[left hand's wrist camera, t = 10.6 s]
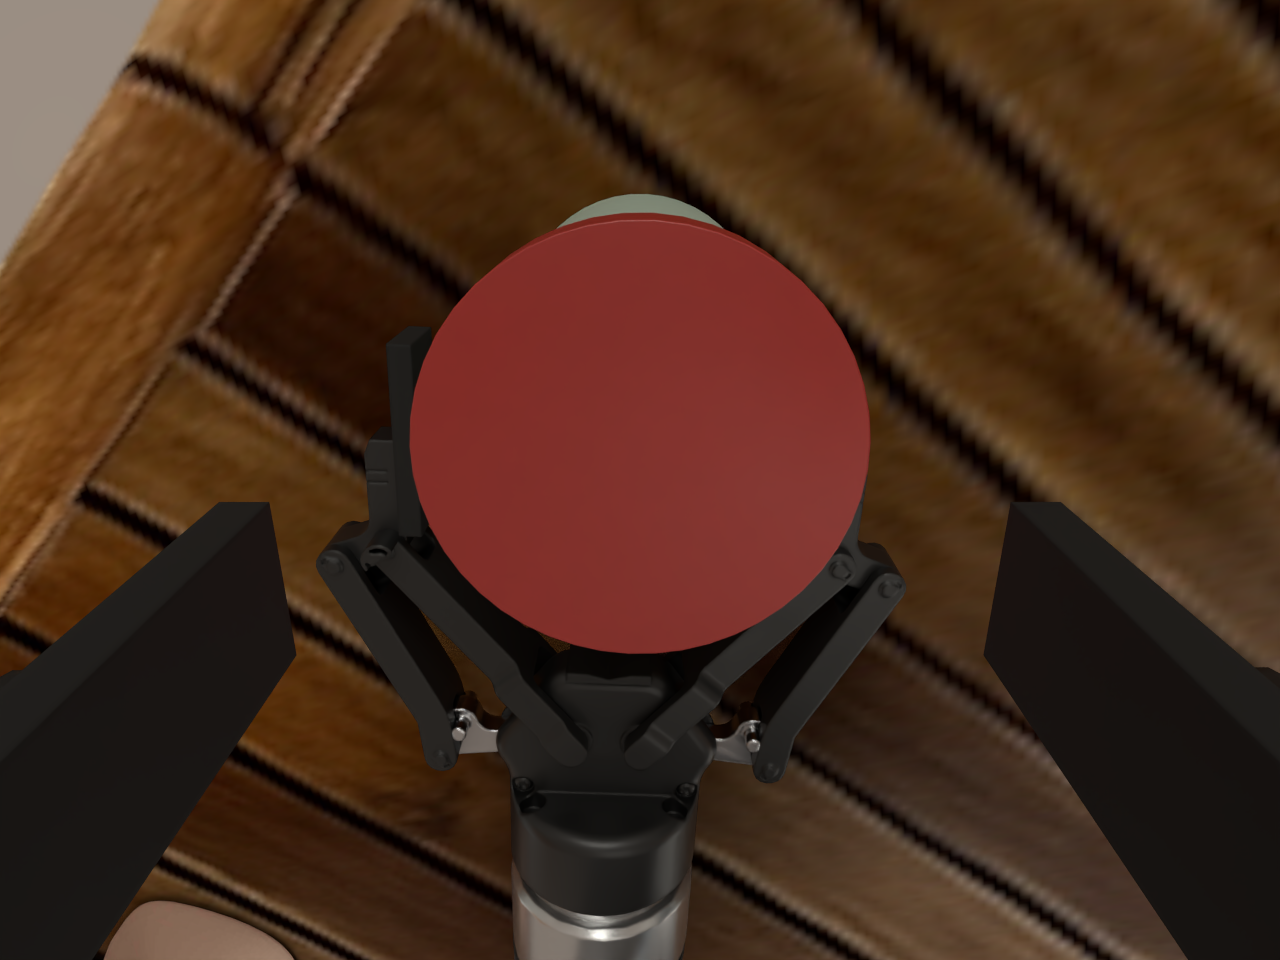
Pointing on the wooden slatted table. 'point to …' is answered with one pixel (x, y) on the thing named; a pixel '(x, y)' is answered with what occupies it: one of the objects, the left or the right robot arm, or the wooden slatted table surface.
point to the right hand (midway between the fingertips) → (621, 343)
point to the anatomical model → (189, 936)
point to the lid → (640, 434)
